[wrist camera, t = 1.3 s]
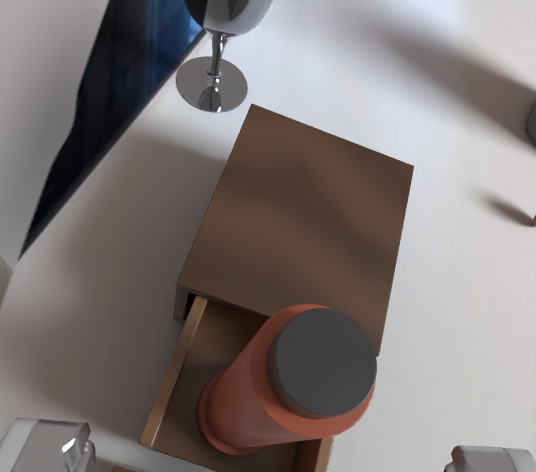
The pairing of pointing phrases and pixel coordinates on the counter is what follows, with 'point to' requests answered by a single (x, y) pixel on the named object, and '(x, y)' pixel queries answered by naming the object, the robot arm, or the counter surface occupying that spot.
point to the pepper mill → (290, 383)
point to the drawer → (192, 384)
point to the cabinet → (299, 226)
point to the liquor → (532, 125)
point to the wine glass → (219, 53)
